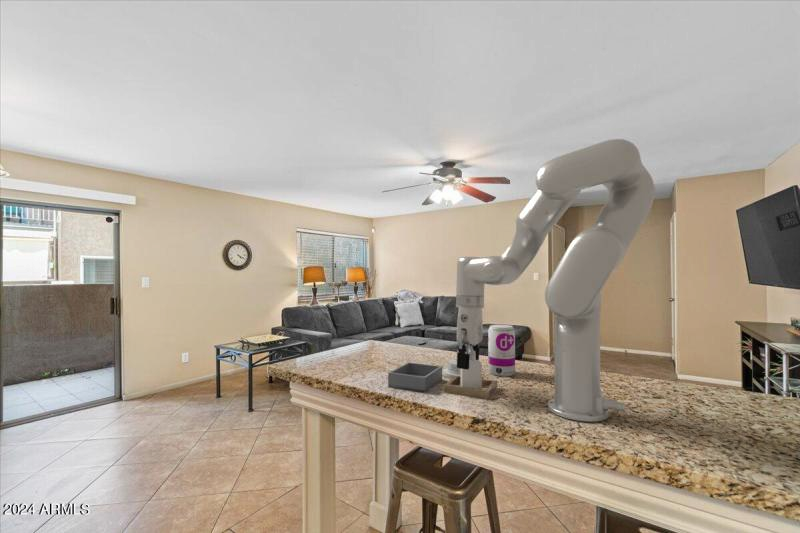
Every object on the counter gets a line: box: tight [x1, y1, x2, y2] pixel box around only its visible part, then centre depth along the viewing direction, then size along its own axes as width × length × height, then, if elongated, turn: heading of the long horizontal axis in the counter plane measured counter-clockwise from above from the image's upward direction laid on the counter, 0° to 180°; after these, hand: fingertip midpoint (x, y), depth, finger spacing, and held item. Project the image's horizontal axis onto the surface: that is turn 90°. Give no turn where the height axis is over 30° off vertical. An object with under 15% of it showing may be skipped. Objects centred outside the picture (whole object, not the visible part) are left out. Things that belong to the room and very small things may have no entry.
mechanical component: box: [442, 358, 461, 379], centre depth 114 cm, size 10×4×10 cm
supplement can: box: [487, 324, 516, 377], centre depth 116 cm, size 8×8×15 cm
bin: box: [387, 362, 443, 393], centre depth 105 cm, size 11×13×4 cm
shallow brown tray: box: [443, 376, 498, 400], centre depth 99 cm, size 12×10×2 cm
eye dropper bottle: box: [460, 346, 483, 389], centre depth 99 cm, size 4×6×12 cm
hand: (468, 364), depth 99 cm, fingers open, 9 cm apart
